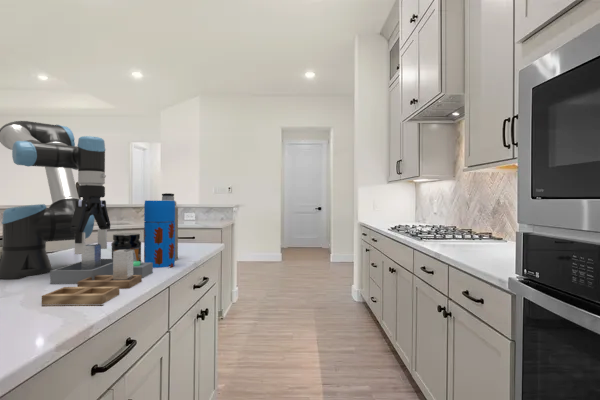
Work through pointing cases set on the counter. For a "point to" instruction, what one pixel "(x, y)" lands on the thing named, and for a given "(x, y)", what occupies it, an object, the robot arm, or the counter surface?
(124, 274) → the block
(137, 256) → the supplement container
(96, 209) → the robot arm
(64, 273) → the tote
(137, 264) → the button
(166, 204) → the thermos
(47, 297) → the pallets
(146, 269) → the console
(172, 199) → the thermos bottle
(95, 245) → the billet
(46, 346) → the counter surface
